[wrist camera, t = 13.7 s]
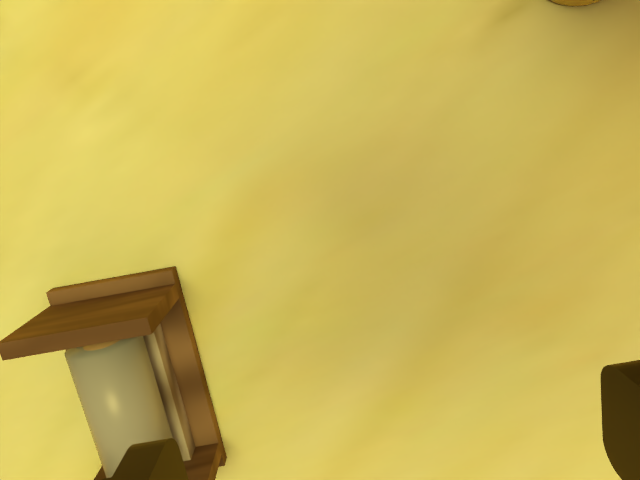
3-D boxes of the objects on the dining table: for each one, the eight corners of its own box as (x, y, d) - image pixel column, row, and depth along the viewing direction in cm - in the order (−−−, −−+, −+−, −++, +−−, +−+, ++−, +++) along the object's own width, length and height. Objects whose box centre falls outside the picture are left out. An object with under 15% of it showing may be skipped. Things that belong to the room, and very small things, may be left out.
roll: (88, 329, 37) (48, 363, 32) (151, 320, 36) (121, 352, 31) (127, 450, 39) (96, 498, 34) (186, 442, 39) (164, 490, 34)
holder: (52, 288, 37) (-10, 328, 30) (175, 266, 37) (142, 301, 30) (116, 475, 42) (75, 550, 34) (226, 457, 41) (208, 528, 34)
